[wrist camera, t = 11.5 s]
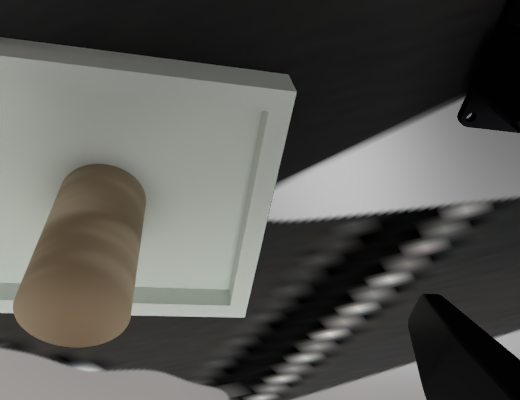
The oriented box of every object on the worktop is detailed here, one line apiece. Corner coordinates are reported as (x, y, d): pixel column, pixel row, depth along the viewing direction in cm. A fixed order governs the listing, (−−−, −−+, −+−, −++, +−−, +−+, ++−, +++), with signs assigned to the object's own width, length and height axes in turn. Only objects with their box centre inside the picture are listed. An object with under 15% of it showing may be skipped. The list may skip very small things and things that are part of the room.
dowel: (147, 167, 21) (131, 275, 16) (144, 233, 23) (130, 347, 18) (56, 159, 20) (5, 271, 15) (62, 228, 23) (20, 347, 17)
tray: (288, 74, 20) (296, 91, 19) (241, 292, 28) (244, 317, 26) (-122, 21, 17) (-155, 36, 15) (-45, 283, 25) (-61, 311, 23)
